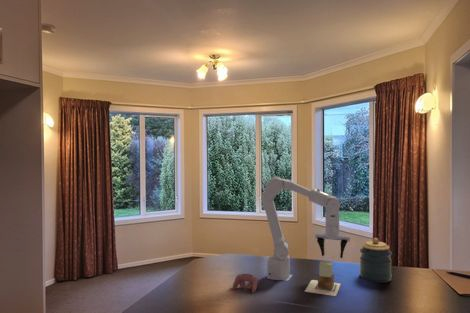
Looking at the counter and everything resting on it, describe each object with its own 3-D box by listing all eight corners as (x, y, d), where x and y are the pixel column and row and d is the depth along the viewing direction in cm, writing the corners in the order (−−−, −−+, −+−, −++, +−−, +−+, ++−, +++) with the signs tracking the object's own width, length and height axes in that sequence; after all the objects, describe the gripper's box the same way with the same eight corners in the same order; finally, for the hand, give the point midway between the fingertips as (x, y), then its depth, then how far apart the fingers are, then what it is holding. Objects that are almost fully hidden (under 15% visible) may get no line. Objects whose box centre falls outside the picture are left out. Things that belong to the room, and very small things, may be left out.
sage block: (319, 276, 150) (319, 263, 150) (321, 272, 154) (321, 260, 154) (330, 277, 148) (330, 264, 148) (332, 273, 152) (332, 261, 152)
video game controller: (257, 294, 150) (260, 276, 153) (254, 292, 146) (256, 274, 149) (235, 290, 154) (238, 272, 157) (231, 288, 150) (234, 271, 153)
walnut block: (317, 288, 150) (317, 275, 150) (320, 283, 155) (320, 271, 155) (331, 290, 148) (332, 277, 148) (333, 285, 153) (334, 273, 153)
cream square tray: (304, 292, 147) (304, 291, 147) (311, 281, 160) (311, 279, 160) (335, 297, 142) (335, 295, 142) (340, 285, 155) (340, 283, 155)
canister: (358, 281, 160) (358, 240, 159) (360, 271, 172) (360, 233, 171) (391, 285, 155) (392, 243, 154) (391, 275, 167) (391, 236, 166)
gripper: (313, 225, 159) (313, 257, 159) (349, 228, 153) (348, 260, 154) (316, 222, 166) (316, 252, 166) (350, 224, 160) (350, 256, 160)
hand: (332, 256), depth 160 cm, fingers open, 7 cm apart
